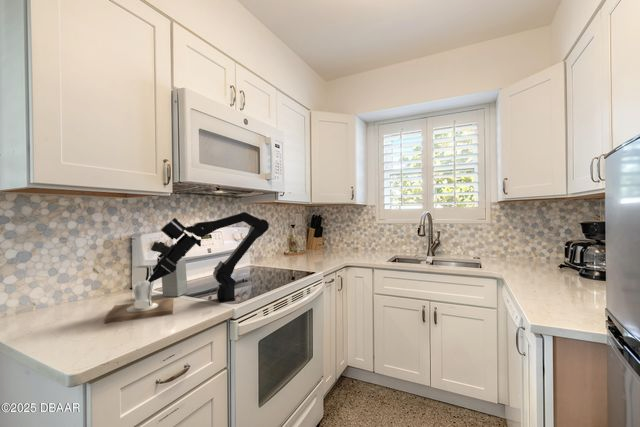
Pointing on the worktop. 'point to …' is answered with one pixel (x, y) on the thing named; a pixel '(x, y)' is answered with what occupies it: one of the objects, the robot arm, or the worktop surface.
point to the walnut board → (139, 311)
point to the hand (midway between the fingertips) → (149, 279)
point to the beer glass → (142, 286)
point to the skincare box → (175, 281)
